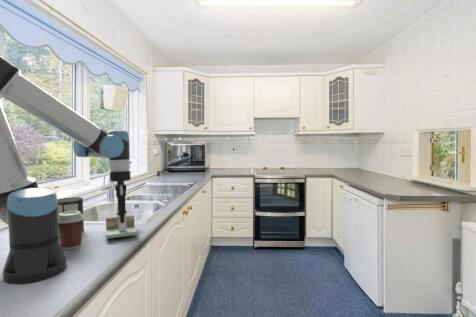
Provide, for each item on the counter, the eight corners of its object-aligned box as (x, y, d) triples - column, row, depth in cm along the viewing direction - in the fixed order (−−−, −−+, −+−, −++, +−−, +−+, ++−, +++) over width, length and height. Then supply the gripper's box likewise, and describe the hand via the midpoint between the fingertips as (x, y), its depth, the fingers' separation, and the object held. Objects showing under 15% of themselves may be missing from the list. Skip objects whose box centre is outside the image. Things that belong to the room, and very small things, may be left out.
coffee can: (73, 228, 129) (71, 196, 128) (89, 231, 125) (88, 198, 124) (49, 235, 120) (47, 200, 119) (66, 239, 116) (65, 202, 115)
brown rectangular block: (134, 229, 128) (134, 215, 127) (106, 232, 123) (105, 218, 123) (134, 228, 129) (133, 214, 129) (106, 231, 125) (105, 217, 125)
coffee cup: (67, 252, 102) (65, 217, 101) (50, 248, 106) (49, 214, 105) (91, 244, 110) (90, 211, 109) (75, 240, 114) (73, 209, 113)
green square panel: (134, 229, 127) (137, 234, 116) (106, 232, 123) (106, 238, 112) (134, 226, 127) (137, 231, 116) (106, 229, 123) (106, 235, 112)
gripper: (131, 171, 113) (134, 233, 114) (129, 168, 125) (131, 224, 126) (109, 172, 110) (112, 236, 111) (109, 169, 122) (111, 227, 123)
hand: (122, 230), depth 119 cm, fingers closed
